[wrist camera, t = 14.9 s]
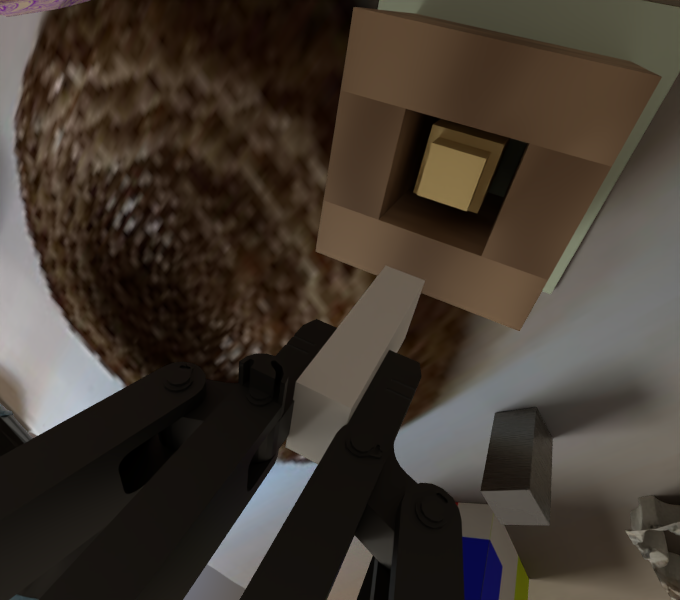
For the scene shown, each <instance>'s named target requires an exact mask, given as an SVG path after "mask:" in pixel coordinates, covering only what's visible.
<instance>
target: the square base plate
mask: <svg viewBox="0 0 680 600" xmlns="http://www.w3.org/2000/svg"><path fill="white" fill-rule="evenodd" d="M378 10H387V11H397V12H406V13H415V14H420V15H425V16H429V17H434V18H438V19H443V20H447V21H452V22H456V23H461V24H465V25H470V26H474V27H479V28H483V29H488V30H492V31H497V32H501V33H506V34H510V35H515V36H519V37H524V38H528V39H533V40H537V41H542V42H546V43H551V44H555V45H560V46H564V47H569V48H573V49H578V50H582V51H587V52H591V53H596V54H600V55H605V56H609V57H614V58H618V59H623V60H627V61H631V62H633V63H635V64H637V65H639V66H641V67H643V68H645V69H647V70H649V71H651V72H653V73H655V74H657V75H659V76H661V77H662V78H661V80H660V82H659V83H658V85H657V87H656V89H655V91H654V92H653V94H652V96H651V98H650V99H649V101H648V103H647V105H646V107H645V108H644V110H643V112H642V114H641V115H640V117H639V119H638V121H637V123H636V124H635V126H634V128H633V130H632V132H631V133H630V135H629V137H628V139H627V140H626V142H625V144H624V146H623V148H622V149H621V151H620V153H619V155H618V156H617V158H616V160H615V162H614V164H613V165H612V167H611V169H610V171H609V173H608V174H607V176H606V178H605V180H604V181H603V183H602V185H601V187H600V189H599V190H598V192H597V194H596V196H595V197H594V199H593V201H592V203H591V205H590V206H589V208H588V210H587V212H586V214H585V215H584V217H583V219H582V221H581V222H580V224H579V226H578V228H577V230H576V231H575V233H574V235H573V237H572V238H571V240H570V242H569V244H568V246H567V247H566V249H565V251H564V253H563V255H562V256H561V258H560V260H559V262H558V263H557V265H556V267H555V269H554V271H553V272H552V274H551V276H550V278H549V279H548V281H547V283H546V285H545V287H544V288H543V290H542V291H543V292H546V293H549V294H551V293H552V291H553V290H554V288H555V286H556V284H557V283H558V281H559V279H560V278H561V276H562V274H563V272H564V271H565V269H566V267H567V266H568V264H569V262H570V260H571V259H572V257H573V255H574V253H575V252H576V250H577V248H578V247H579V245H580V243H581V241H582V240H583V238H584V236H585V234H586V233H587V231H588V229H589V228H590V226H591V224H592V222H593V221H594V219H595V217H596V215H597V214H598V212H599V210H600V209H601V207H602V205H603V203H604V202H605V200H606V198H607V197H608V195H609V193H610V191H611V190H612V188H613V186H614V184H615V183H616V181H617V179H618V178H619V176H620V174H621V172H622V171H623V169H624V167H625V165H626V164H627V162H628V160H629V159H630V157H631V155H632V153H633V152H634V150H635V148H636V146H637V145H638V143H639V141H640V140H641V138H642V136H643V134H644V133H645V131H646V129H647V128H648V126H649V124H650V122H651V121H652V119H653V117H654V115H655V114H656V112H657V110H658V109H659V107H660V105H661V103H662V102H663V100H664V98H665V96H666V95H667V93H668V91H669V90H670V88H671V86H672V84H673V83H674V81H675V79H676V77H677V76H678V74H679V72H680V7H675V6H670V5H665V4H659V3H654V2H649V1H643V0H379V5H378ZM525 146H526V142H522V141H519V140H515V139H512V138H508V137H505V136H501V135H498V134H494V133H490V132H487V131H483V130H480V129H476V128H473V127H469V126H466V125H462V124H459V123H455V122H451V121H448V120H444V119H440V120H438V121H437V122H435V123H434V124H433V125H432V129H431V132H430V136H429V139H428V143H427V146H426V150H425V153H424V157H423V160H422V164H421V167H420V171H419V174H418V178H417V181H416V184H415V188H414V191H413V193H416V194H417V195H419V196H422V197H425V198H428V199H431V200H434V201H437V202H440V203H443V204H446V205H449V206H452V207H455V208H458V209H461V210H464V211H467V210H468V211H471V212H474V213H478V211H479V209H480V207H481V205H482V203H483V201H484V199H485V197H486V195H487V193H488V192H489V193H492V194H495V195H498V196H501V197H504V195H505V193H506V191H507V188H508V186H509V183H510V181H511V179H512V176H513V174H514V172H515V169H516V167H517V165H518V162H519V160H520V158H521V155H522V153H523V151H524V148H525Z"/></svg>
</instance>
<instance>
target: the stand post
mask: <svg viewBox="0 0 680 600" xmlns="http://www.w3.org/2000/svg"><path fill="white" fill-rule="evenodd" d="M552 446H553V438H552V436H551V434H550V432H549V431H548V429H547V427H546V425H545V423H544V421H543V419H542V417H541V415H540V414H539V412H538V410H537V408H536V407H534V408H527V409H520V410H513V411H506V412H499V413H495V416H494V422H493V427H492V432H491V438H490V443H489V448H488V454H487V459H486V464H485V470H484V475H483V480H482V486H481V493H482V495H483V496H484V498H485V500H486V501H487V503H488V505H489V506H490V508H491V509H492V511H493V513H494V514H495V516H496V518H497V519H498V521H499V523H500V524H501V525H550V504H551V475H552Z"/></svg>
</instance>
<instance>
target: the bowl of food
mask: <svg viewBox="0 0 680 600" xmlns="http://www.w3.org/2000/svg"><path fill="white" fill-rule="evenodd" d="M86 1H89V0H0V14H1V15H4V16H7V17H9V16H16V15H22V14H28V13H35V12H41V11H47V10H54V9H59V8H63V7H67V6H71V5H75V4H79V3H83V2H86Z"/></svg>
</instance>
